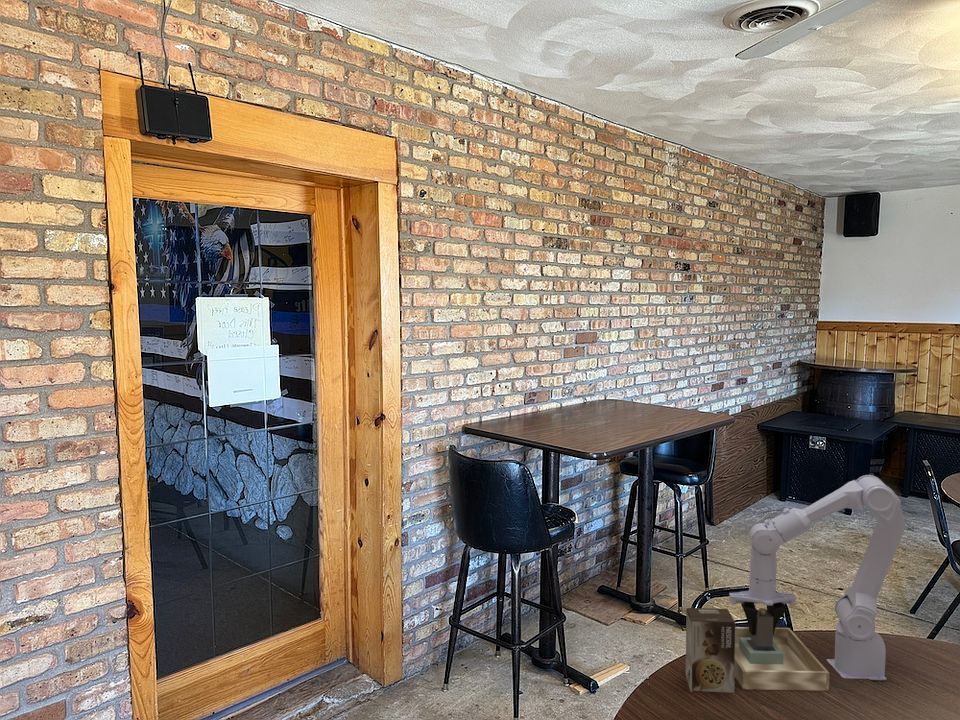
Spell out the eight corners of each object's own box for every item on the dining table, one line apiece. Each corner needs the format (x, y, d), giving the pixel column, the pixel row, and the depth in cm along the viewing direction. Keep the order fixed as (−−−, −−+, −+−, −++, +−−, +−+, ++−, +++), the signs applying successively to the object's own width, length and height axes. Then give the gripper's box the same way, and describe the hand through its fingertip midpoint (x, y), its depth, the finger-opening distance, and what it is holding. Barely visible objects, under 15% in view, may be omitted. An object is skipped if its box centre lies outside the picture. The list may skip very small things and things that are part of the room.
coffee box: (726, 679, 147) (728, 608, 146) (734, 695, 141) (736, 621, 139) (684, 676, 148) (685, 606, 147) (690, 693, 142) (692, 620, 140)
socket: (770, 647, 159) (770, 637, 159) (783, 664, 152) (783, 653, 152) (738, 647, 160) (739, 637, 159) (750, 663, 152) (750, 653, 152)
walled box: (788, 645, 161) (789, 627, 161) (828, 693, 141) (829, 672, 141) (713, 644, 162) (713, 626, 162) (742, 691, 142) (743, 671, 142)
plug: (766, 638, 157) (767, 605, 156) (772, 646, 153) (773, 613, 153) (750, 638, 157) (751, 605, 156) (756, 646, 153) (757, 612, 153)
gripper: (737, 583, 151) (735, 641, 152) (802, 584, 150) (800, 642, 151) (726, 571, 158) (725, 626, 159) (789, 571, 157) (787, 627, 158)
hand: (761, 633), depth 155 cm, fingers closed on plug, 3 cm apart
